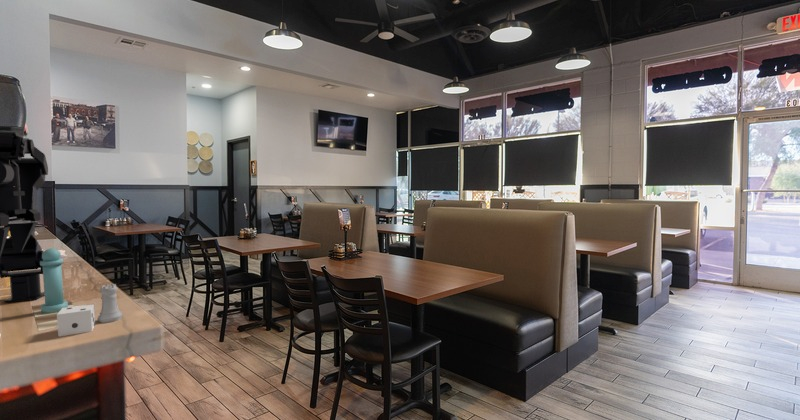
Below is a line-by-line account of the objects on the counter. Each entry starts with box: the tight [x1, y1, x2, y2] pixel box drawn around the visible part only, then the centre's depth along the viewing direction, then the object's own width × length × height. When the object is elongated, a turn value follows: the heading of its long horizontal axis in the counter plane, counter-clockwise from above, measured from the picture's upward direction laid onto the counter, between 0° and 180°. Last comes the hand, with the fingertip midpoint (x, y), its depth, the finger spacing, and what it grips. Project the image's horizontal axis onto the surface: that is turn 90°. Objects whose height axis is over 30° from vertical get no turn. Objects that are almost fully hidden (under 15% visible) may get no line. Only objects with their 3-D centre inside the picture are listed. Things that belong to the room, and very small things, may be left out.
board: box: [31, 299, 75, 332], centre depth 91 cm, size 24×7×1 cm, turn 44°
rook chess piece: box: [97, 283, 124, 324], centre depth 85 cm, size 4×4×8 cm
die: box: [57, 303, 96, 338], centre depth 80 cm, size 5×5×5 cm
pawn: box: [40, 247, 68, 314], centre depth 92 cm, size 5×5×14 cm
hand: (7, 256), depth 94 cm, fingers open, 9 cm apart
